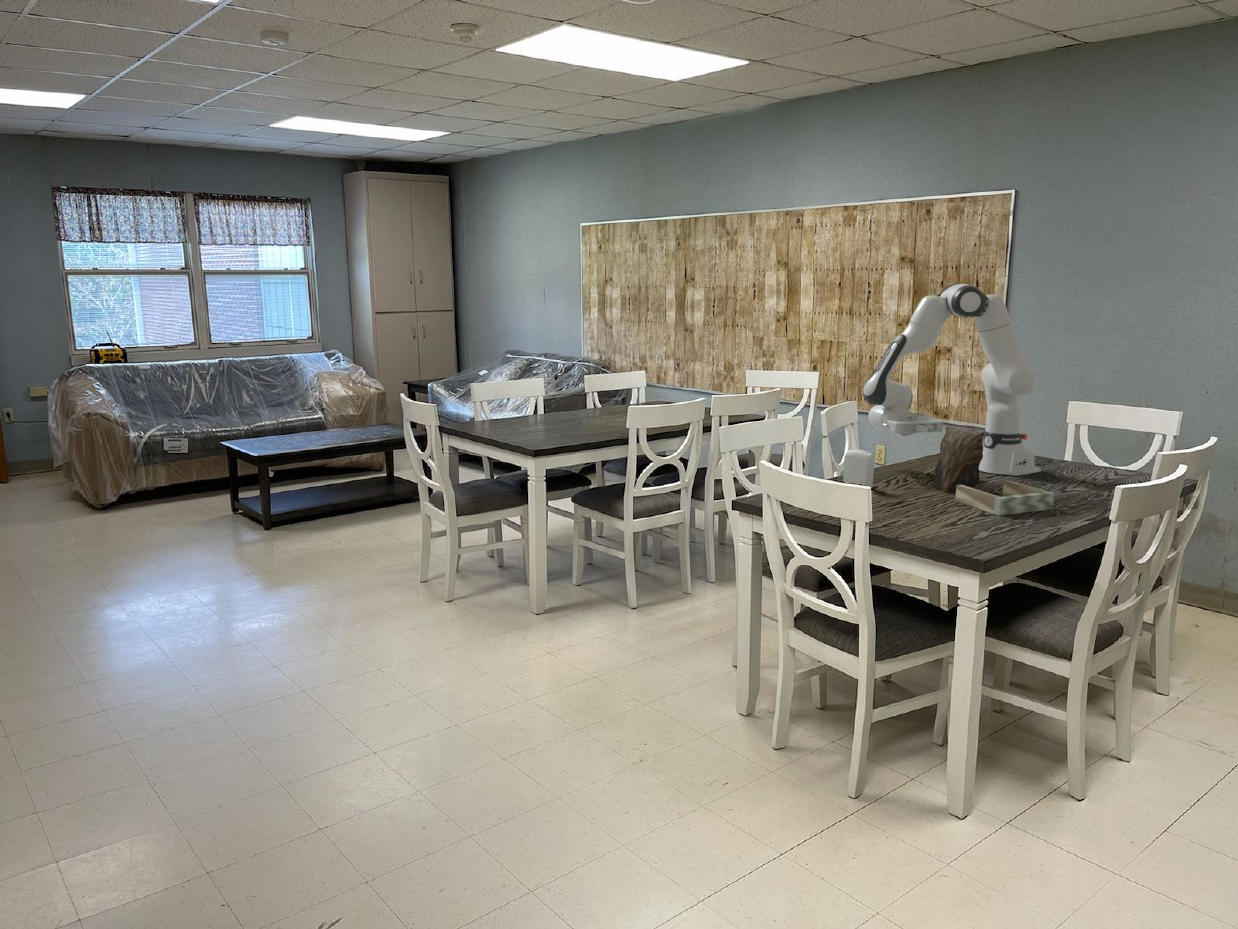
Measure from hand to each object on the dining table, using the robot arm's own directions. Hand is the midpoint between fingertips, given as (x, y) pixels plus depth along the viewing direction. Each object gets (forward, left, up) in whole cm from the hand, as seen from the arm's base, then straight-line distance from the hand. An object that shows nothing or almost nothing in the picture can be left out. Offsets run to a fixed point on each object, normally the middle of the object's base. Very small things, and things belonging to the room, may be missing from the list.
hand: (930, 429), depth 302 cm
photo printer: (+28, -1, -18) cm, 33 cm away
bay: (0, +33, -18) cm, 38 cm away
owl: (0, +12, -18) cm, 22 cm away
